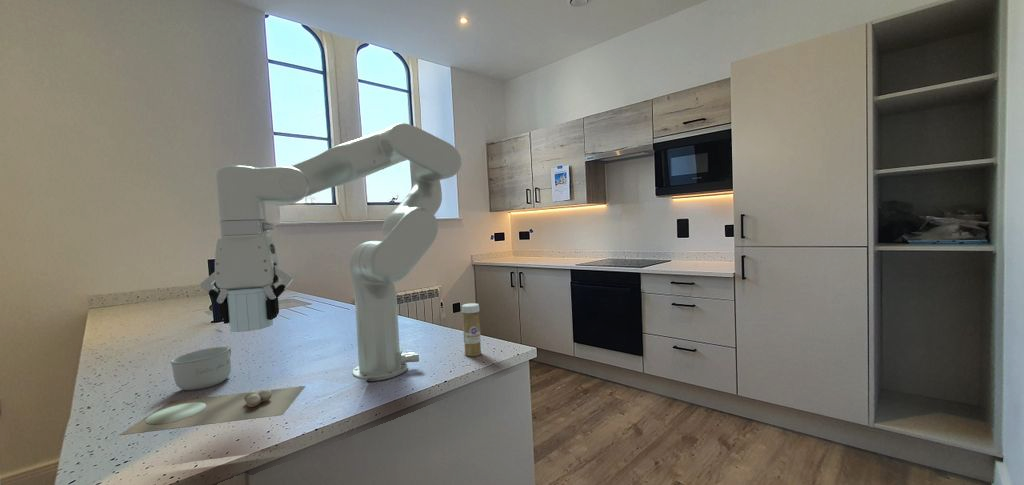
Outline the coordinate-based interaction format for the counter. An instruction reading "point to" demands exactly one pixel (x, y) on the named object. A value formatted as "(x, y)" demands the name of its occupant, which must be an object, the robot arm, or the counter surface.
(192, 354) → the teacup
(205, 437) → the counter surface
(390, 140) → the robot arm
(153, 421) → the brown board
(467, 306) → the sprinkles bottle
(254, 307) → the blue cup
